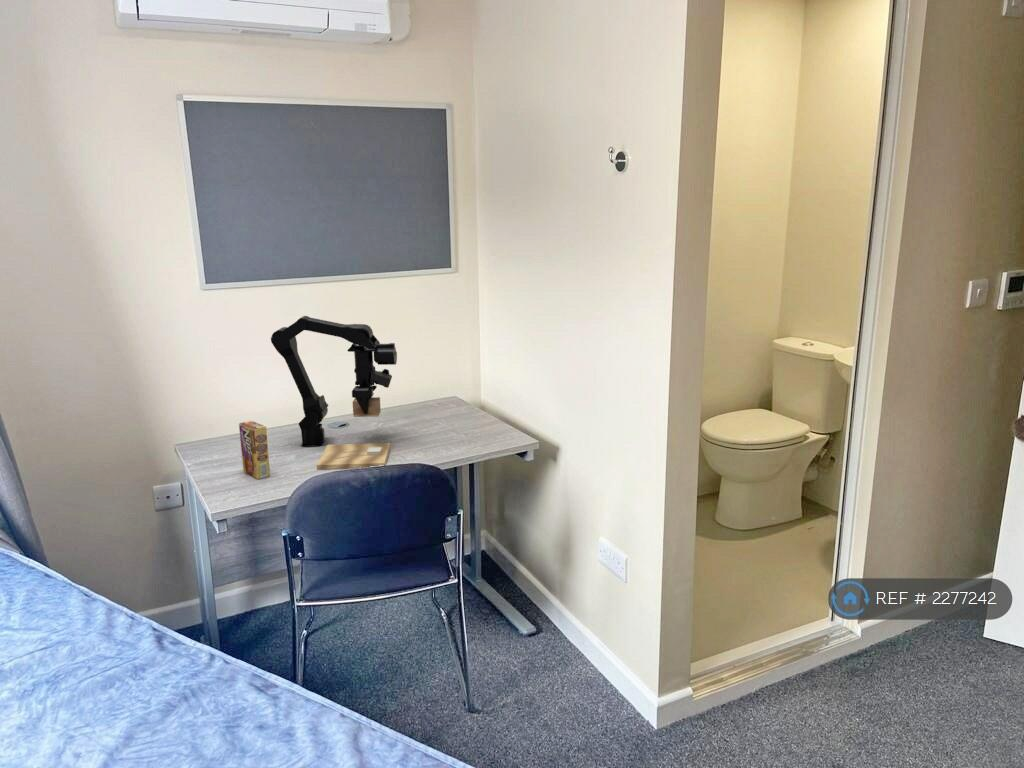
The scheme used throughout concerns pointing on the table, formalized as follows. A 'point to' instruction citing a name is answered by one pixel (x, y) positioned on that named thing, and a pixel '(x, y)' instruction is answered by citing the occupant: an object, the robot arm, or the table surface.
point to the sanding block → (372, 409)
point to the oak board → (352, 456)
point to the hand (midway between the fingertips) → (366, 411)
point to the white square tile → (374, 450)
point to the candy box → (254, 449)
